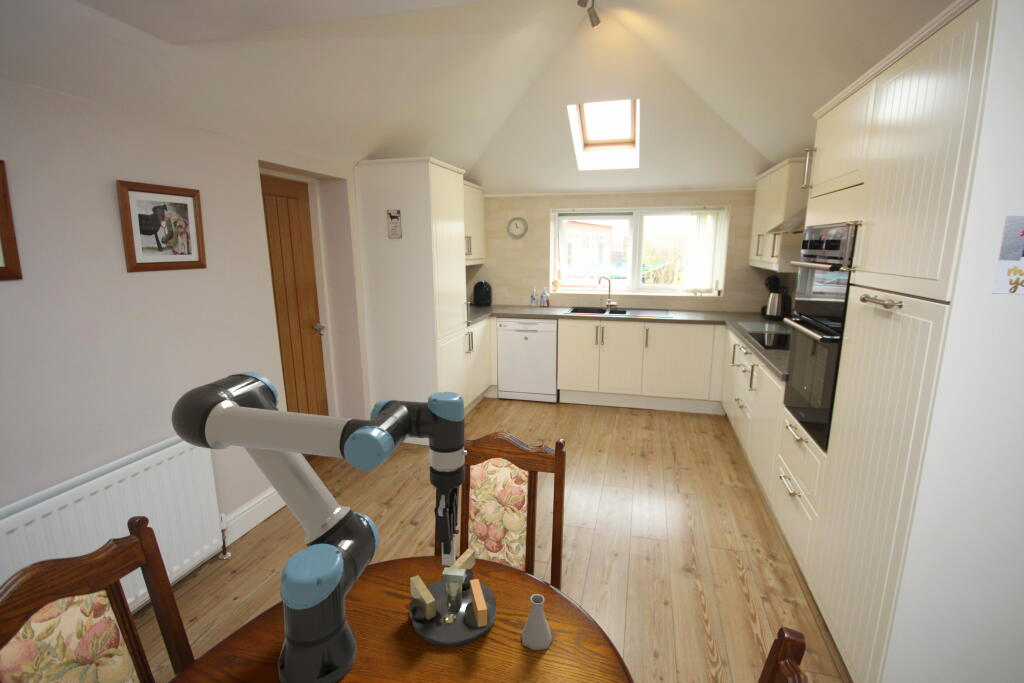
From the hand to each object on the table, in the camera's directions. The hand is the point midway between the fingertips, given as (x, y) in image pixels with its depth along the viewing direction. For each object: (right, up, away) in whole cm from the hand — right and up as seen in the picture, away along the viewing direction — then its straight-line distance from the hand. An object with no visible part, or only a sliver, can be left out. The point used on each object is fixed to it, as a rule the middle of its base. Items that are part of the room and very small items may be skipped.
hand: (448, 563), depth 106 cm
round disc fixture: (0, -15, +9) cm, 17 cm away
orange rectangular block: (+6, -14, +3) cm, 16 cm away
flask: (+20, -17, 0) cm, 26 cm away
